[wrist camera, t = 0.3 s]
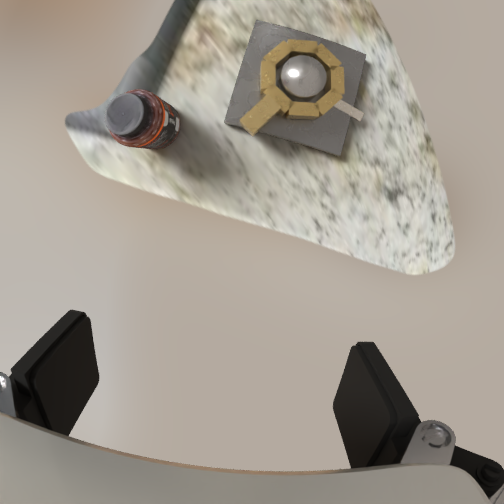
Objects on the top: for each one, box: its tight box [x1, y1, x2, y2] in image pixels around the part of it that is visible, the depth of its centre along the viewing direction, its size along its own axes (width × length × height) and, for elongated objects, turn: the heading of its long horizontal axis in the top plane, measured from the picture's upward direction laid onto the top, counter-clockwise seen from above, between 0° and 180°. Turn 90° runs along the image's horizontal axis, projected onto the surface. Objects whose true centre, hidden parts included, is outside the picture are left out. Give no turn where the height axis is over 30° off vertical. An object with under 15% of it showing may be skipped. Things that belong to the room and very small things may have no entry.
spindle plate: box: [224, 20, 366, 156], centre depth 32 cm, size 14×16×5 cm
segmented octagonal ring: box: [239, 39, 345, 136], centre depth 31 cm, size 13×9×4 cm
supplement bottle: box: [105, 89, 180, 149], centre depth 30 cm, size 6×6×11 cm
